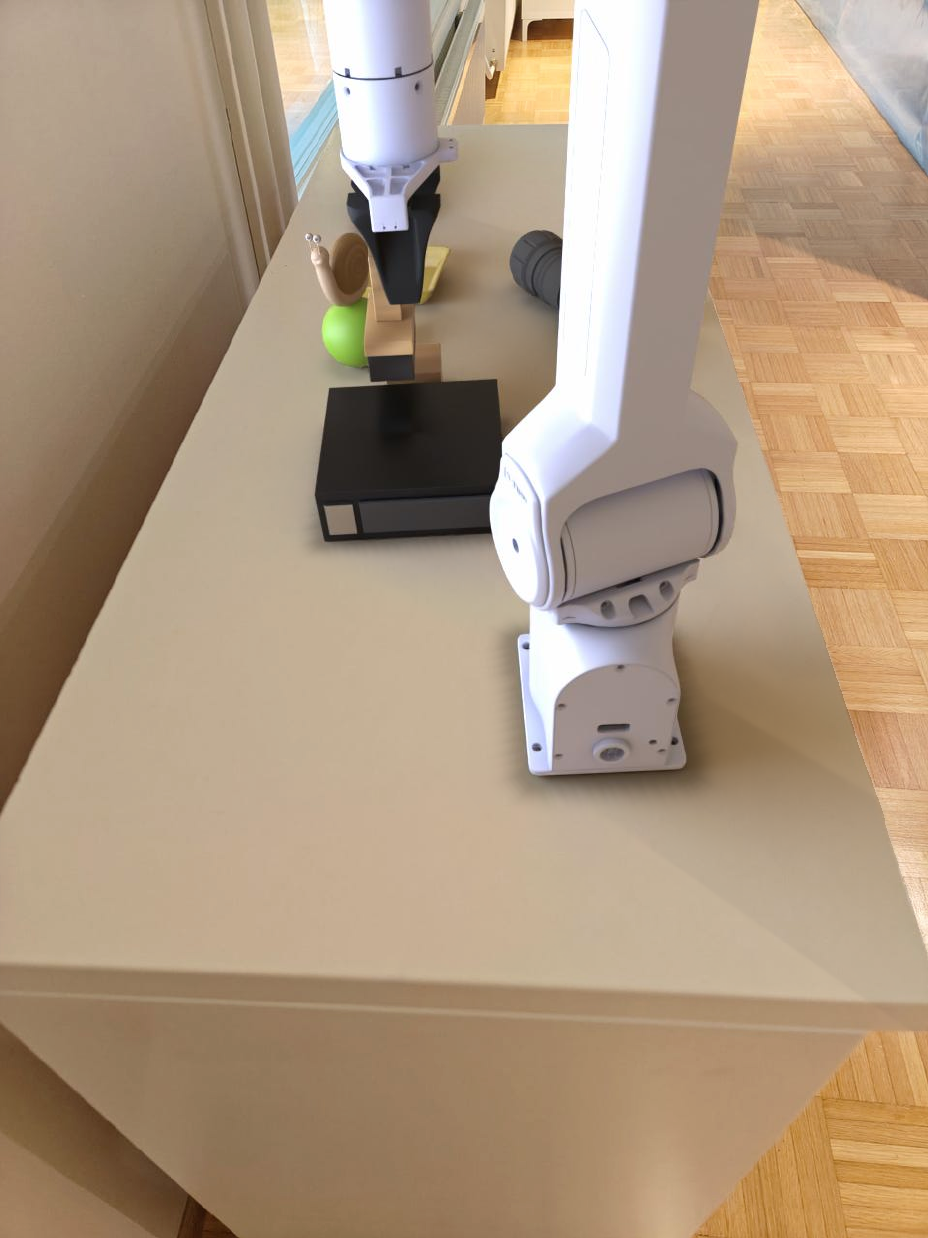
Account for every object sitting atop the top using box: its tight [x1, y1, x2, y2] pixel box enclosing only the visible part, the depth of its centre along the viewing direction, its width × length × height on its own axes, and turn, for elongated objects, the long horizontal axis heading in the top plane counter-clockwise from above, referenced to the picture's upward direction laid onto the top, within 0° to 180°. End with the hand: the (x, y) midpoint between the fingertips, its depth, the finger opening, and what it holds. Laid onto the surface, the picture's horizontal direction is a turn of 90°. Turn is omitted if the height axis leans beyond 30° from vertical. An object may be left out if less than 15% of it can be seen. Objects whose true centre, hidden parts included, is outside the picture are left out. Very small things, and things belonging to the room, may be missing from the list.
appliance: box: [314, 378, 504, 542], centre depth 62 cm, size 12×12×4 cm
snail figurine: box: [305, 232, 369, 368], centre depth 70 cm, size 5×6×12 cm
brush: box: [364, 250, 417, 383], centre depth 62 cm, size 3×7×8 cm, turn 1°
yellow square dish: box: [362, 245, 452, 305], centre depth 83 cm, size 9×9×2 cm
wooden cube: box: [385, 342, 444, 385], centre depth 69 cm, size 4×4×4 cm
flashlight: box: [509, 229, 563, 312], centre depth 76 cm, size 15×5×5 cm, turn 26°
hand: (405, 293), depth 61 cm, fingers closed on brush, 2 cm apart
